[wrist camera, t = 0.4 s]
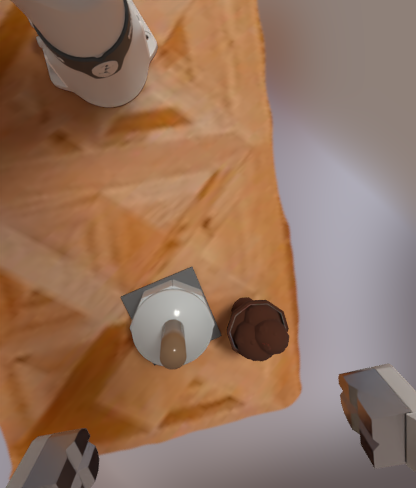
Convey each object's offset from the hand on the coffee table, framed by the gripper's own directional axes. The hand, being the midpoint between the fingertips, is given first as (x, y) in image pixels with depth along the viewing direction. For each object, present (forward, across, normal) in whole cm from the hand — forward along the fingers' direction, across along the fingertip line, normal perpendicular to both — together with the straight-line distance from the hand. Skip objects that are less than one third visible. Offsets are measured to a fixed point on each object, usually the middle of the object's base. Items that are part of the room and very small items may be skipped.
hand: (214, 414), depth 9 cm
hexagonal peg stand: (+43, +11, +22) cm, 49 cm away
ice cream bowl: (+45, -4, +25) cm, 51 cm away
